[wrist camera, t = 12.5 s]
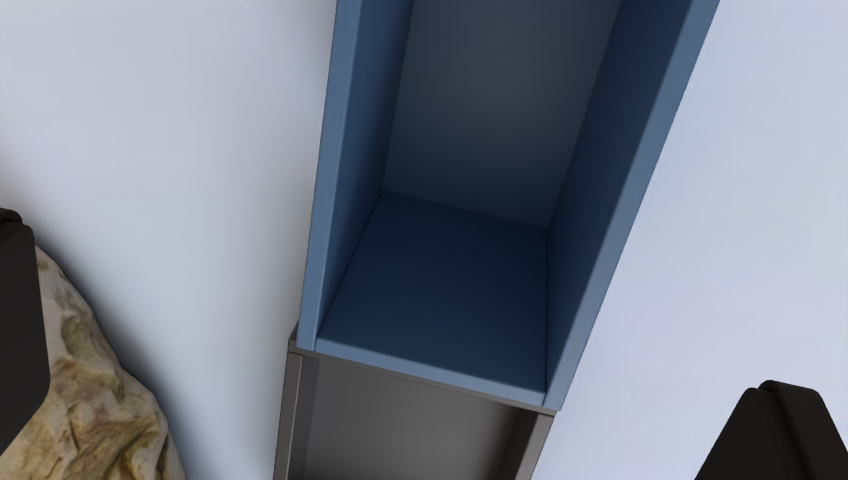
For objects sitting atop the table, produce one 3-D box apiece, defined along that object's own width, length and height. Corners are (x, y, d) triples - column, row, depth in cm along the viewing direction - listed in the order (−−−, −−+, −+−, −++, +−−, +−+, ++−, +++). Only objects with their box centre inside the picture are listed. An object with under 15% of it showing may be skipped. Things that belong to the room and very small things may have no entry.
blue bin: (430, -184, 21) (357, -177, 13) (678, -130, 20) (756, -89, 13) (368, 191, 27) (294, 347, 19) (558, 236, 27) (560, 412, 19)
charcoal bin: (319, 275, 29) (288, 338, 26) (559, 333, 29) (559, 404, 25) (287, 513, 37) (260, 586, 33) (476, 561, 36) (469, 640, 33)
